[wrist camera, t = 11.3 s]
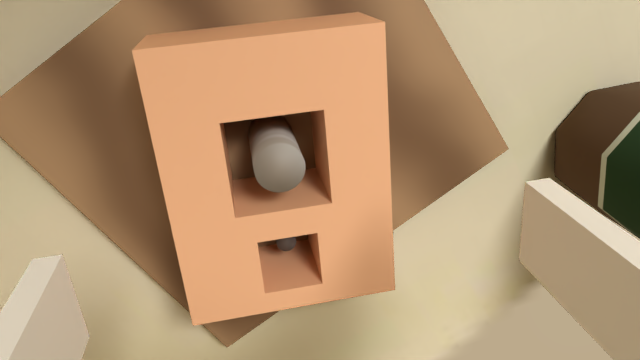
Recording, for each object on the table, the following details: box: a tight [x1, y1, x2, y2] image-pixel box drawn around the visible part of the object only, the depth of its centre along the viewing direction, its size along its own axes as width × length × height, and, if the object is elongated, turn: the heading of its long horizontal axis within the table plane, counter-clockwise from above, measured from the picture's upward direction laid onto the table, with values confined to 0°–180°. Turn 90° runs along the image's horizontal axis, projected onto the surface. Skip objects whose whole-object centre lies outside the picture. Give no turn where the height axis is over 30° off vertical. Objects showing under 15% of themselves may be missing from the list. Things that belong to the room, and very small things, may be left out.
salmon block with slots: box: [132, 12, 395, 326], centre depth 26 cm, size 13×10×4 cm
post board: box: [0, 0, 509, 347], centre depth 26 cm, size 20×18×6 cm
